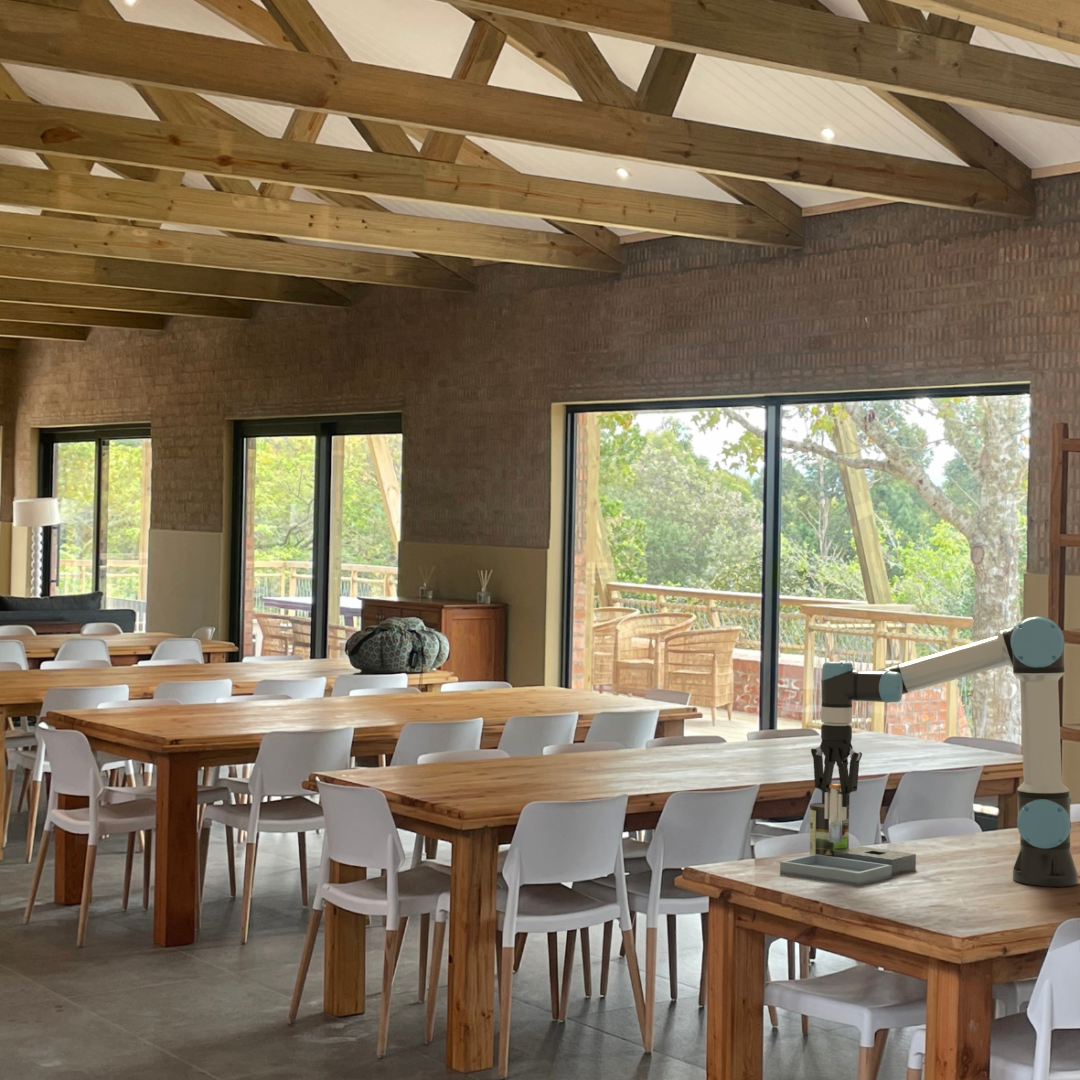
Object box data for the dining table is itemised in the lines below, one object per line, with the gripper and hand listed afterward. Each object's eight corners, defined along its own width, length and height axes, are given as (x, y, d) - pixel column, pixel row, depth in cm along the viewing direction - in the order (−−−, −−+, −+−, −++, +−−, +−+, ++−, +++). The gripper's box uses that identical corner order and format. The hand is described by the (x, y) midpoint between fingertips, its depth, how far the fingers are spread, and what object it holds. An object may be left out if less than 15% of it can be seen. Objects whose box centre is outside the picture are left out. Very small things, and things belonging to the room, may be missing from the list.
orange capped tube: (844, 841, 368) (844, 784, 369) (837, 843, 366) (838, 785, 367) (833, 840, 371) (833, 783, 371) (826, 841, 368) (826, 784, 369)
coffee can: (857, 860, 390) (857, 806, 391) (827, 863, 385) (827, 808, 386) (830, 854, 399) (831, 801, 400) (801, 857, 394) (801, 803, 394)
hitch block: (915, 869, 377) (915, 853, 378) (892, 875, 369) (892, 859, 369) (859, 861, 388) (860, 846, 388) (835, 867, 379) (835, 851, 379)
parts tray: (891, 877, 366) (891, 865, 367) (858, 886, 355) (858, 873, 355) (814, 865, 381) (814, 854, 381) (780, 873, 369) (780, 861, 369)
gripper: (873, 725, 367) (872, 821, 366) (816, 721, 378) (815, 814, 377) (857, 727, 361) (856, 824, 360) (800, 722, 372) (799, 816, 371)
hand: (835, 818), depth 368 cm, fingers closed on orange capped tube, 3 cm apart
